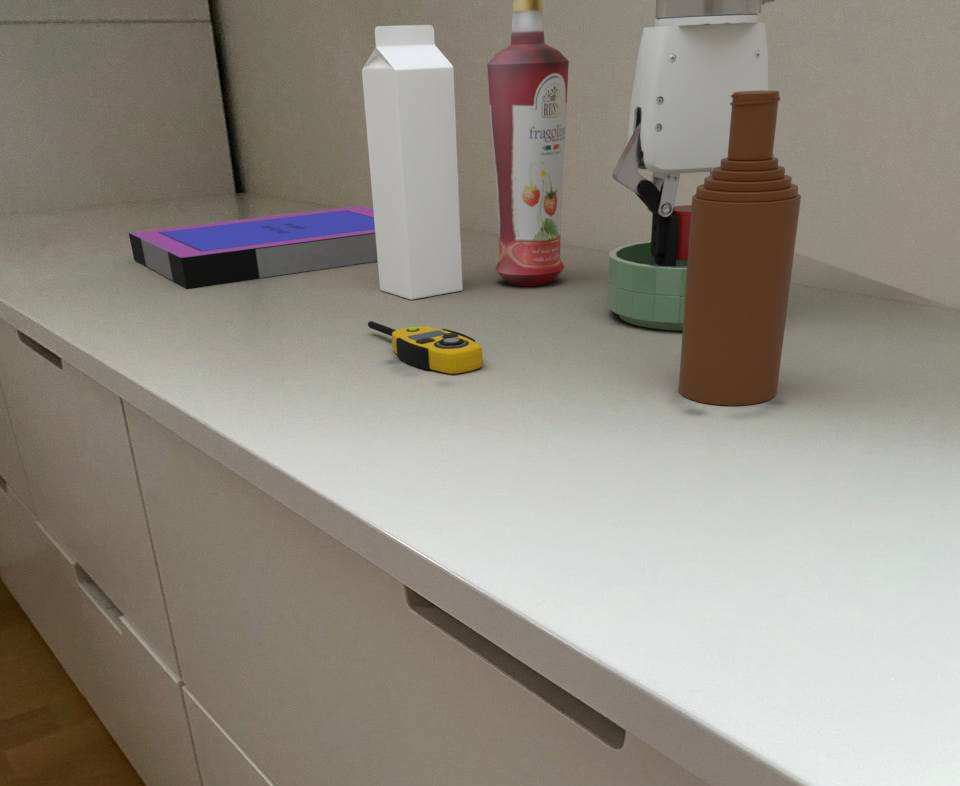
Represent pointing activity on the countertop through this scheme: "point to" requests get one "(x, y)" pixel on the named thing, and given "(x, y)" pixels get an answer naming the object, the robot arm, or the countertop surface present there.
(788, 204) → the bottle
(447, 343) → the yellow walkie talkie
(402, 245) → the milk
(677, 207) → the cap
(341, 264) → the book
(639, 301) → the bowl
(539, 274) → the liquor
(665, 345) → the countertop surface
